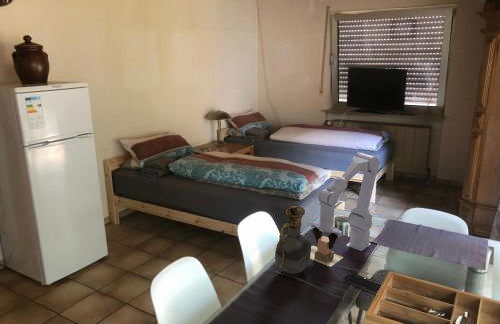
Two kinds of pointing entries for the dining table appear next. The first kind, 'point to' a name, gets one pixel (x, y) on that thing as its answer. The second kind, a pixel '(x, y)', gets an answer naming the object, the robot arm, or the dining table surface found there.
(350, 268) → the dining table surface
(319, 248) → the top block
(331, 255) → the base block
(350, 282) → the phone
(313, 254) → the board
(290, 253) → the pitcher
